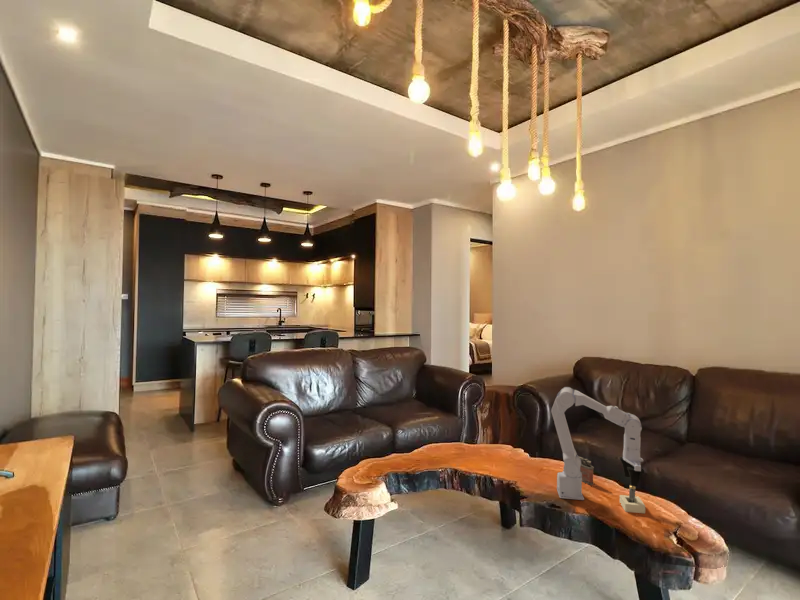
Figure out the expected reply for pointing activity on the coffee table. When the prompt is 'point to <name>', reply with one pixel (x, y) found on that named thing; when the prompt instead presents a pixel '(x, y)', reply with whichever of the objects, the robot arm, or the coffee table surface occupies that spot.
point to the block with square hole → (632, 504)
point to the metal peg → (631, 494)
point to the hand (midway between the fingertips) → (631, 481)
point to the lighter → (586, 471)
